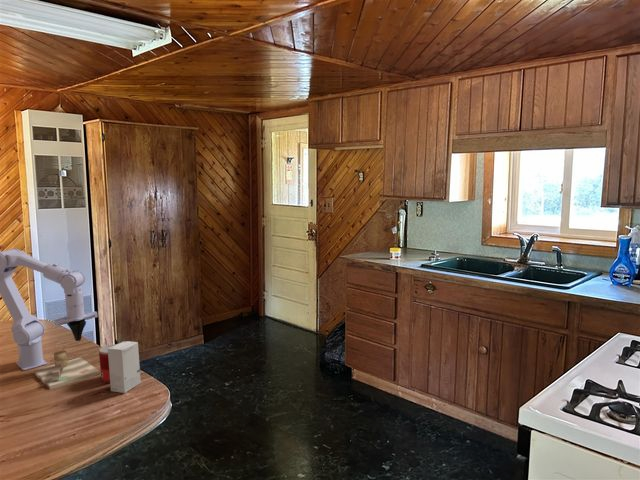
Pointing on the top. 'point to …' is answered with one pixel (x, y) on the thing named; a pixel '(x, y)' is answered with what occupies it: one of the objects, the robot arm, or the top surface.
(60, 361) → the friction peg
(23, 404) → the top surface
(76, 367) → the board
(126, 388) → the skincare box
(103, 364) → the canned food
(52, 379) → the green tile
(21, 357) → the robot arm
